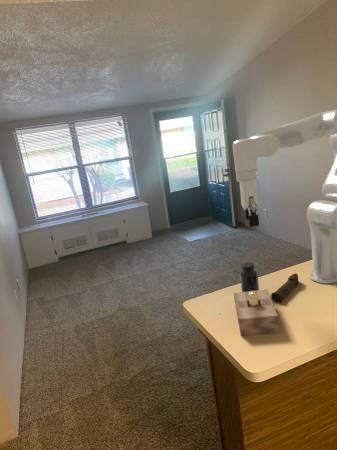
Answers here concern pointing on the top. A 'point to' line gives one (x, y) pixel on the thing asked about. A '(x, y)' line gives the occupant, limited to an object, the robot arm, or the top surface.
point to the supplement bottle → (249, 277)
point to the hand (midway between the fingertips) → (252, 222)
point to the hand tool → (285, 288)
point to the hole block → (256, 314)
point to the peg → (253, 298)
